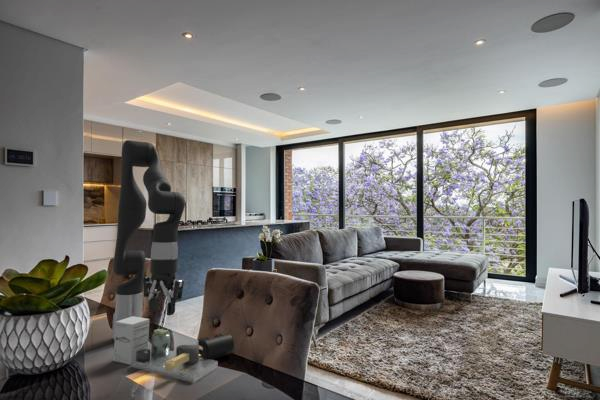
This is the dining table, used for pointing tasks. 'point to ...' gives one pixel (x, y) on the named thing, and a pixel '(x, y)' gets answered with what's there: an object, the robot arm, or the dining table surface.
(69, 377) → the dining table surface
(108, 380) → the dining table surface
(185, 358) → the level knob
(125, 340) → the supplement box
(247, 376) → the dining table surface
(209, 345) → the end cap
